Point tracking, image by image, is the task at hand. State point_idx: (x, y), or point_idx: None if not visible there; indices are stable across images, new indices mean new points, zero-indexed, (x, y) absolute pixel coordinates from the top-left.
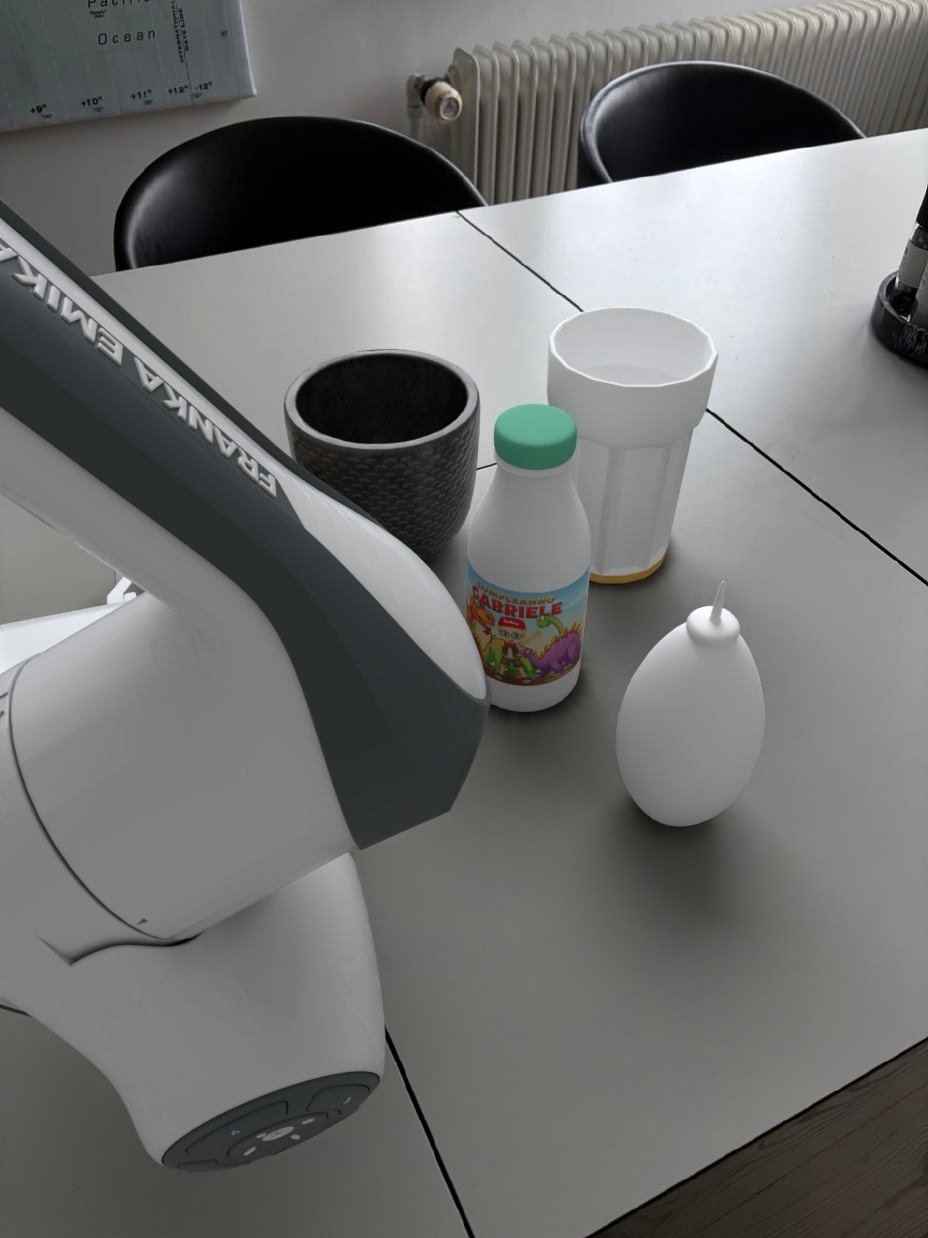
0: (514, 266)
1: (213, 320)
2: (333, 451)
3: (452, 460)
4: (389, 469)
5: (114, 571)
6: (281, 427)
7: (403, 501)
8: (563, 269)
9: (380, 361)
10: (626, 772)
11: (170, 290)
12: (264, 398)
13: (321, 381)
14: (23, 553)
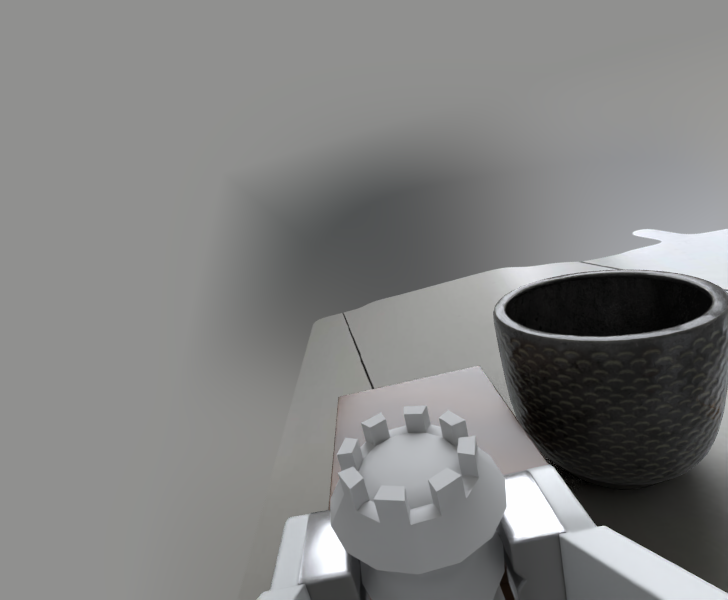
0: (597, 267)
1: (416, 314)
2: (570, 348)
3: (724, 351)
4: (650, 364)
5: (329, 499)
6: (470, 364)
7: (667, 405)
8: (633, 263)
9: (569, 284)
10: None
11: (392, 305)
12: (454, 348)
13: (519, 304)
14: (282, 466)
